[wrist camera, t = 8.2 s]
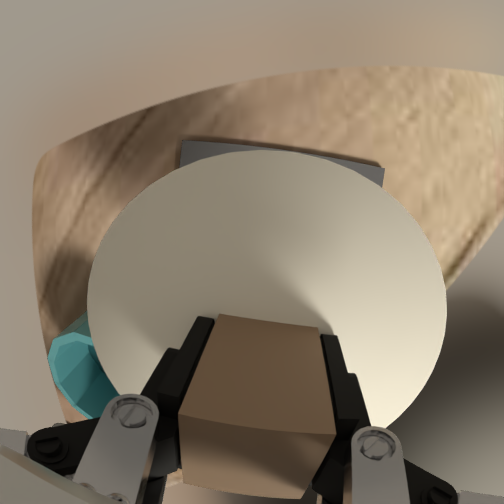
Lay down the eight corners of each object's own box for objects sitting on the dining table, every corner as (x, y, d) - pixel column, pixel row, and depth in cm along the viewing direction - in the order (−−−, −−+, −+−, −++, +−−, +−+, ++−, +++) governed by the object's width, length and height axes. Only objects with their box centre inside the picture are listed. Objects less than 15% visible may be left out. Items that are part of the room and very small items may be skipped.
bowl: (182, 402, 30) (164, 447, 23) (92, 376, 31) (64, 411, 24) (182, 313, 27) (155, 355, 20) (78, 289, 27) (38, 318, 21)
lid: (367, 441, 13) (386, 537, 7) (126, 407, 14) (76, 492, 8) (458, 191, 10) (583, 227, 3) (113, 142, 10) (-21, 139, 4)
